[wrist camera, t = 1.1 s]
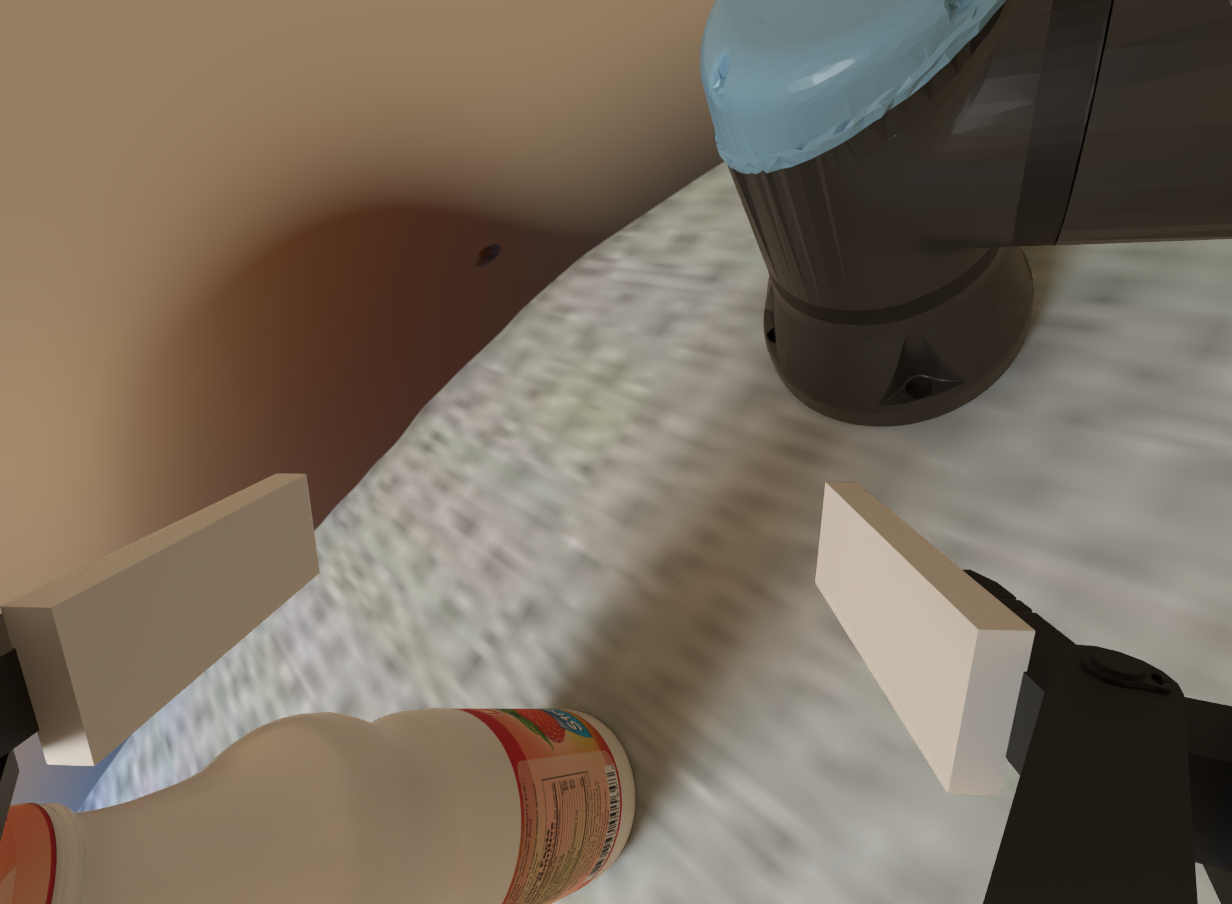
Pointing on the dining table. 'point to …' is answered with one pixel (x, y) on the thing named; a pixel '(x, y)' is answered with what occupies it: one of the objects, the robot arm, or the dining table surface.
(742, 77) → the robot arm
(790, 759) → the dining table surface
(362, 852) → the fruit juice
